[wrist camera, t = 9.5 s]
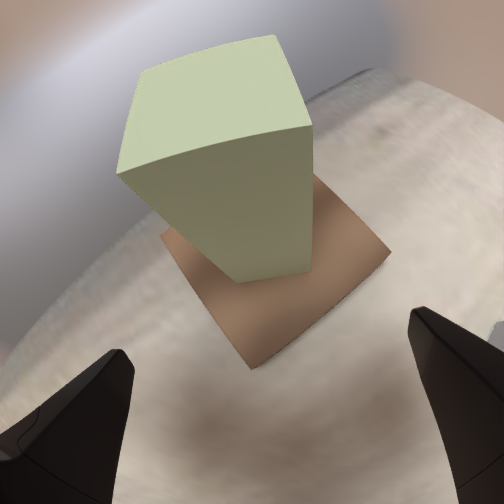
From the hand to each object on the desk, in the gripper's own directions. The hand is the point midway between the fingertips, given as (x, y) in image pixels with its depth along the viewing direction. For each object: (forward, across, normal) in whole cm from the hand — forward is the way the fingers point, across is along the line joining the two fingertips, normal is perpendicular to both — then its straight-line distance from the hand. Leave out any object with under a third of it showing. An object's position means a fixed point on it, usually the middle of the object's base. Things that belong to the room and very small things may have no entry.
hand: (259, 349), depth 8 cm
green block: (+10, 0, +1) cm, 10 cm away
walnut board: (+12, 0, +3) cm, 12 cm away
